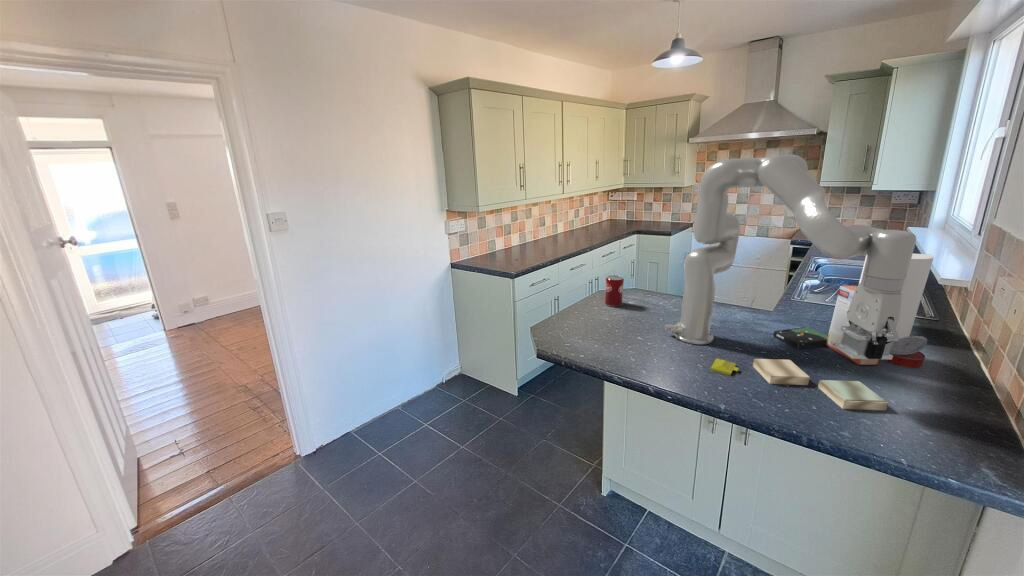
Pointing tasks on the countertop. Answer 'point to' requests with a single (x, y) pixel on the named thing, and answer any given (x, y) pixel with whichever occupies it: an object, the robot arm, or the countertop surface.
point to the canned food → (908, 351)
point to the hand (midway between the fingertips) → (863, 351)
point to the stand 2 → (852, 395)
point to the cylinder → (911, 291)
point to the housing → (859, 343)
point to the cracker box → (843, 323)
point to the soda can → (614, 291)
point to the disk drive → (802, 337)
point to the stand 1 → (781, 372)
